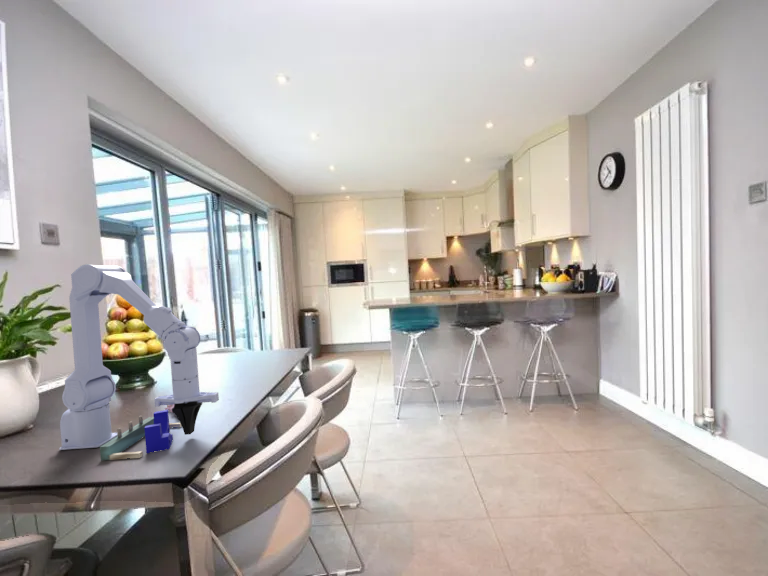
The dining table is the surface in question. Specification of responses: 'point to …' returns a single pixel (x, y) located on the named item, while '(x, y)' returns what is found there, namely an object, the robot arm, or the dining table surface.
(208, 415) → the dining table surface
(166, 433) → the cable clip
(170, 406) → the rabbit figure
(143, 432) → the pin bay
